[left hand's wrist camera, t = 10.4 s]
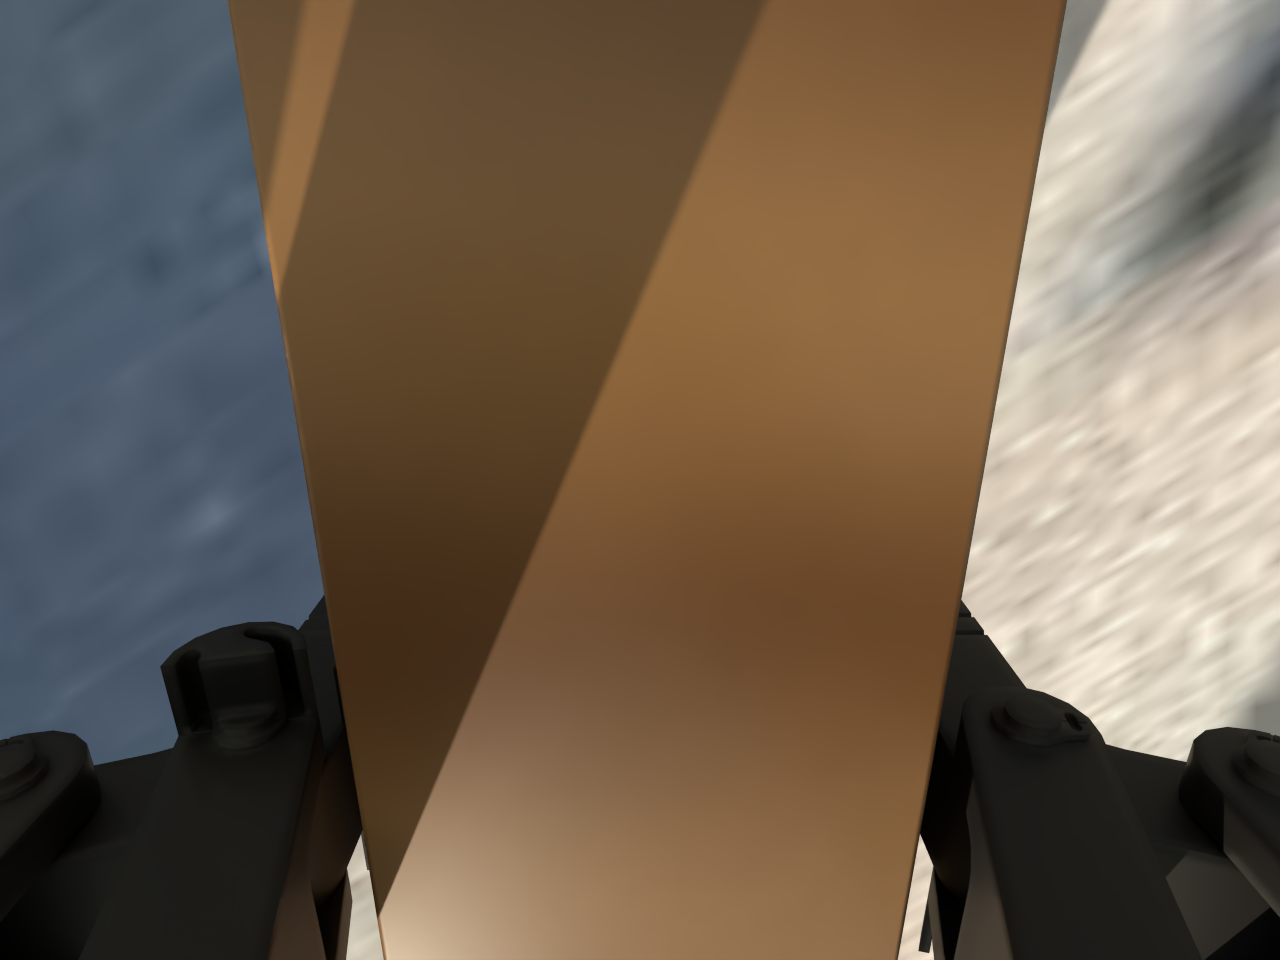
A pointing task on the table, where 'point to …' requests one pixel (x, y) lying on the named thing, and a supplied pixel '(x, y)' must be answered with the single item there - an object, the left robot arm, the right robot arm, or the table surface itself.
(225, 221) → the table surface
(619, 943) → the bar
